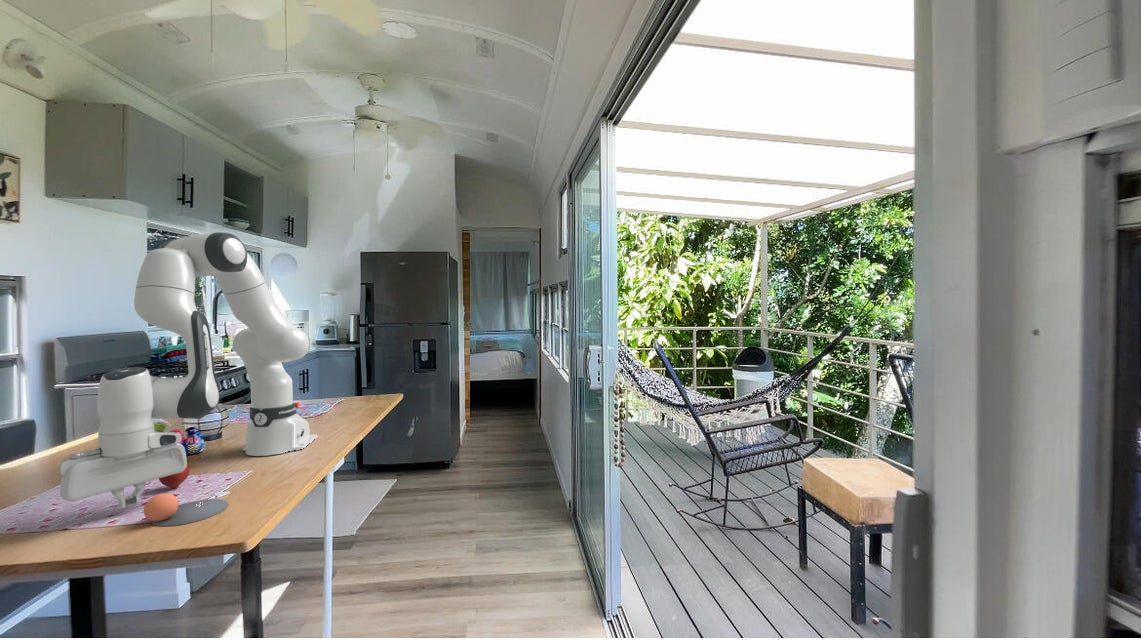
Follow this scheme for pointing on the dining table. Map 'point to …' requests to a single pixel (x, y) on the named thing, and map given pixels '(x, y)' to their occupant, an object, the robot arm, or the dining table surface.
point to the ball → (161, 507)
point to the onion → (175, 478)
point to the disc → (194, 512)
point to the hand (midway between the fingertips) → (129, 505)
